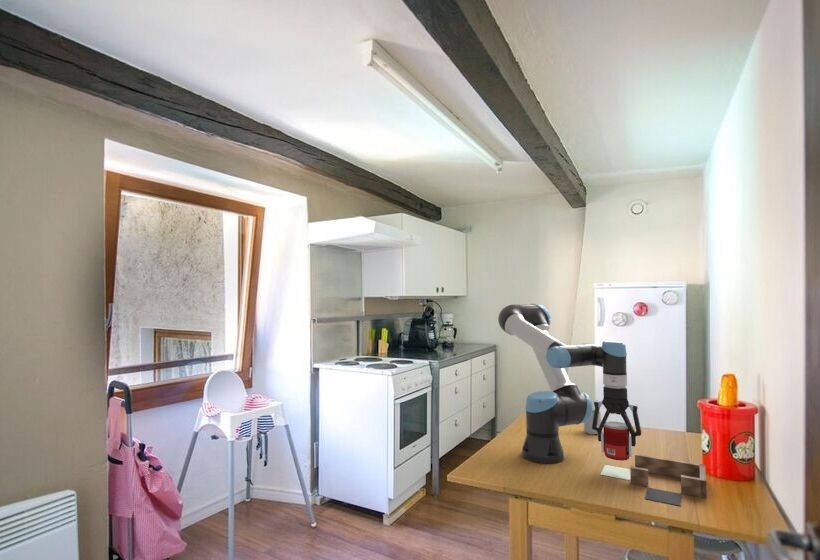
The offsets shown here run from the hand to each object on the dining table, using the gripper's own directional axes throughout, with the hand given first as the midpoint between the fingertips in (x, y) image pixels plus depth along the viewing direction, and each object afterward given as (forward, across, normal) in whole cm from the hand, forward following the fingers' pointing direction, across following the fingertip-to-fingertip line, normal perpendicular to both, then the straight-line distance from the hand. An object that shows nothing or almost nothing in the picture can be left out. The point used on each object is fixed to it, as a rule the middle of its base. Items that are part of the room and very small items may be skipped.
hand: (616, 453), depth 155 cm
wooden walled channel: (+7, +15, 0) cm, 16 cm away
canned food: (+1, 0, 0) cm, 1 cm away
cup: (+7, -15, +45) cm, 48 cm away
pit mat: (+7, +14, -13) cm, 20 cm away
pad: (+7, 0, 0) cm, 7 cm away
